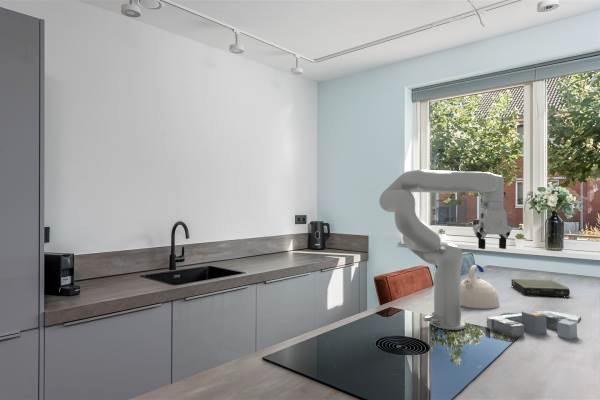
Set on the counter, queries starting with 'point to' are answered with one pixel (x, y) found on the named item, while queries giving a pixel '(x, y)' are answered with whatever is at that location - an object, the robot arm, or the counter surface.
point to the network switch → (540, 287)
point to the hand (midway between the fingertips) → (492, 248)
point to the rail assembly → (519, 323)
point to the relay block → (567, 329)
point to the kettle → (478, 292)
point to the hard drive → (568, 316)
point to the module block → (534, 322)
